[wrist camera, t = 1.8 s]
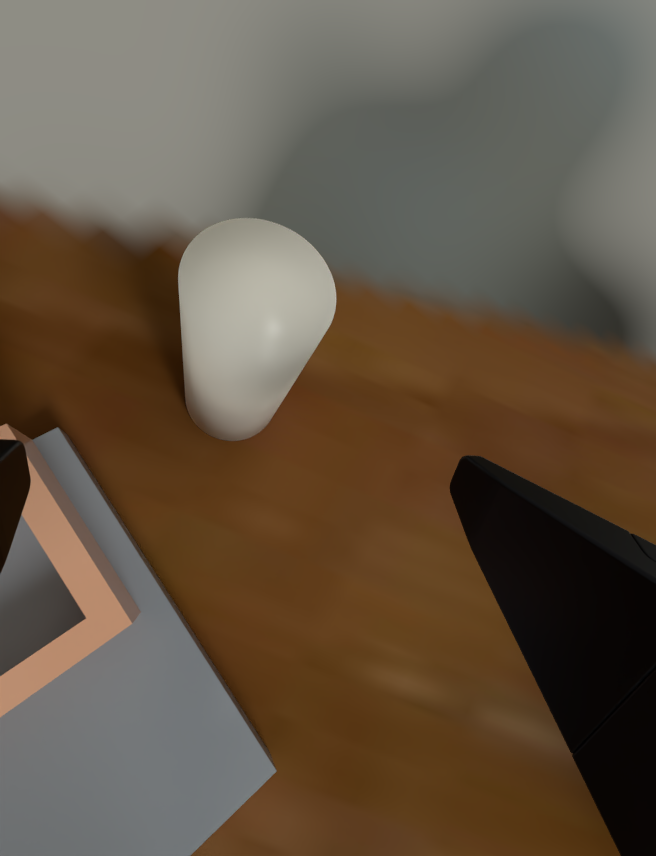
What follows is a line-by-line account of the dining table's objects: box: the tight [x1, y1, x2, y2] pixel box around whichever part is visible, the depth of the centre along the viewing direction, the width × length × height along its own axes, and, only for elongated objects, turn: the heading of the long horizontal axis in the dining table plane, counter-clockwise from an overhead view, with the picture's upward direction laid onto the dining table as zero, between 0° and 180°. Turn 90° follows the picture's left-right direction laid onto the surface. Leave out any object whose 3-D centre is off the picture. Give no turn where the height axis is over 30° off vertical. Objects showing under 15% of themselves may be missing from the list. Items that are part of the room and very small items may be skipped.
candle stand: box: [0, 424, 276, 856], centre depth 14 cm, size 16×10×4 cm, turn 36°
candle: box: [178, 218, 336, 441], centre depth 17 cm, size 4×4×10 cm
